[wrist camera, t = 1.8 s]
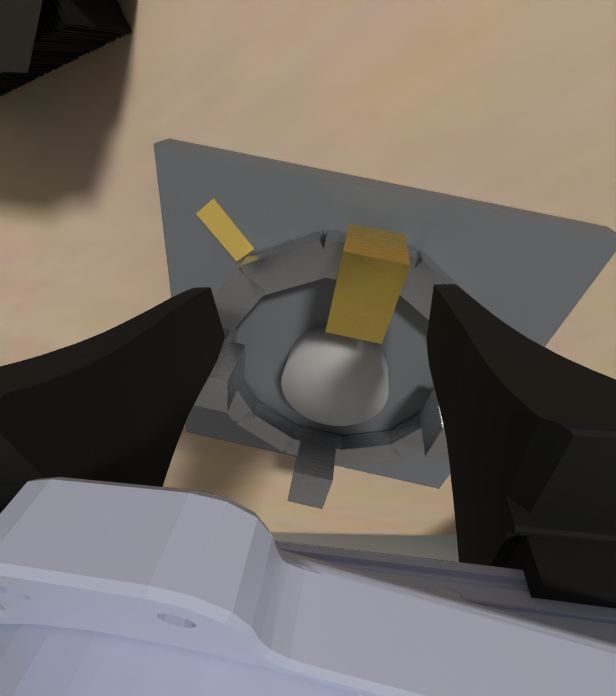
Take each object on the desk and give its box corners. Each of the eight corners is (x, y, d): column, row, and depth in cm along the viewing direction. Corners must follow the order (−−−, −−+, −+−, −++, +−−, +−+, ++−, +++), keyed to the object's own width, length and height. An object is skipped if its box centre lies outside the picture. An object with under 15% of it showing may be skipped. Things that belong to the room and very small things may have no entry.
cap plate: (607, 226, 13) (656, 260, 11) (436, 472, 24) (442, 515, 22) (168, 138, 14) (125, 152, 11) (194, 418, 24) (174, 454, 22)
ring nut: (579, 260, 13) (633, 311, 10) (429, 478, 22) (436, 535, 20) (181, 179, 13) (130, 206, 11) (200, 426, 23) (175, 475, 20)
